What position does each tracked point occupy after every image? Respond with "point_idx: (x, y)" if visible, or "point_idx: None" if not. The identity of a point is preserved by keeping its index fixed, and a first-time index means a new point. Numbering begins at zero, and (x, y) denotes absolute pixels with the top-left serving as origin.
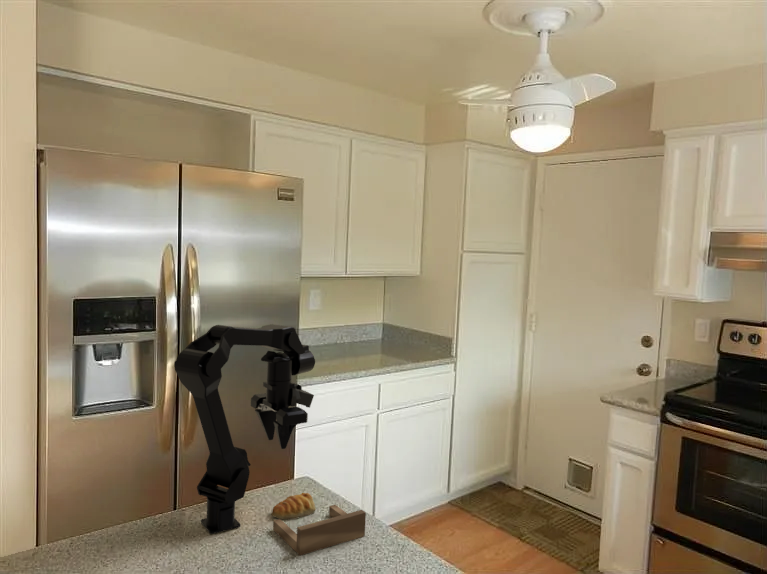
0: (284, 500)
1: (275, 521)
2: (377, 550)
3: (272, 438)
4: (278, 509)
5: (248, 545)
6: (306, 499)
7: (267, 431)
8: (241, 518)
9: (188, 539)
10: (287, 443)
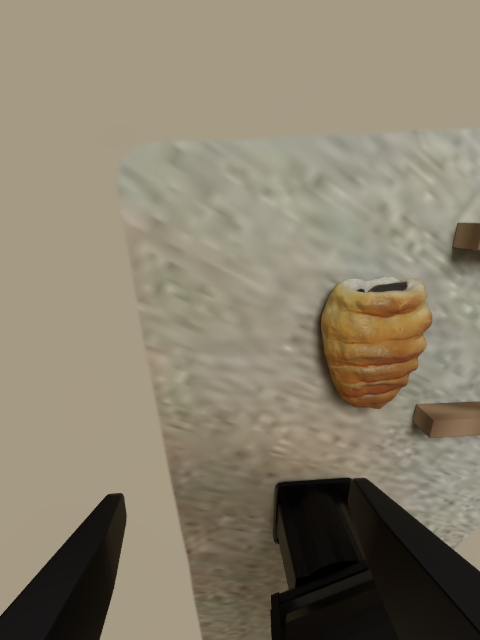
0: (356, 374)
1: (437, 434)
2: None
3: (121, 505)
4: (384, 404)
5: (433, 483)
6: (422, 320)
7: (100, 624)
8: (308, 462)
9: None
10: (399, 506)
